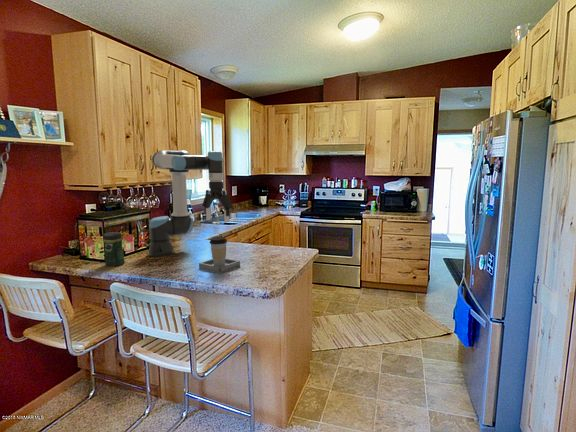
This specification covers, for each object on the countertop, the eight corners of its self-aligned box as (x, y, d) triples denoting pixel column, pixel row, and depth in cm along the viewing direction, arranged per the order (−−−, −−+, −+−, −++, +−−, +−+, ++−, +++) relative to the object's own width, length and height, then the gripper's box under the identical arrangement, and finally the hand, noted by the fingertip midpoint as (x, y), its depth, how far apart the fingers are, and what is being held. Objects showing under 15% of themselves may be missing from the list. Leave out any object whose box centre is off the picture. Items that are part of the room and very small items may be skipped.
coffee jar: (127, 263, 198) (124, 231, 195) (116, 267, 191) (113, 234, 188) (113, 261, 201) (110, 230, 198) (102, 265, 193) (99, 233, 191)
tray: (199, 268, 186) (198, 263, 186) (219, 261, 198) (219, 256, 198) (220, 273, 177) (219, 267, 177) (240, 266, 189) (239, 261, 189)
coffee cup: (224, 268, 182) (223, 240, 180) (207, 267, 184) (206, 240, 182) (230, 263, 191) (229, 237, 189) (214, 262, 193) (213, 236, 191)
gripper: (194, 180, 185) (196, 219, 188) (228, 182, 171) (229, 224, 174) (205, 180, 191) (206, 218, 194) (238, 181, 177) (239, 222, 180)
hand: (217, 221), depth 184 cm, fingers open, 13 cm apart
